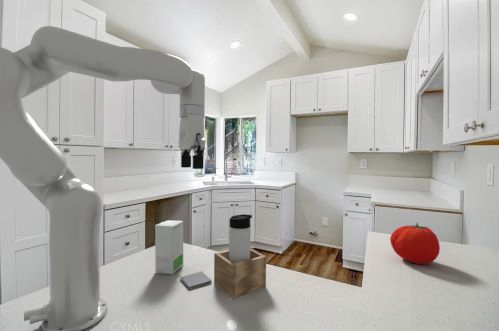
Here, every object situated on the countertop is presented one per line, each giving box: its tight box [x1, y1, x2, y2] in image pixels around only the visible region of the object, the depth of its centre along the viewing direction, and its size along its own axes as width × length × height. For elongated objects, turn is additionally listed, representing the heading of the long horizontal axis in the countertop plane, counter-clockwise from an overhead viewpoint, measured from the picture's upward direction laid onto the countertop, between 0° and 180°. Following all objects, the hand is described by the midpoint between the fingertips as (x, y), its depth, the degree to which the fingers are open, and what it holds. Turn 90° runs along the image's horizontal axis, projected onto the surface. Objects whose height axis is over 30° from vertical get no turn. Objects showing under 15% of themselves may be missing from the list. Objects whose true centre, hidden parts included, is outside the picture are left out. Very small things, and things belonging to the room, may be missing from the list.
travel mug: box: [228, 214, 253, 263], centre depth 75 cm, size 6×7×20 cm
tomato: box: [389, 222, 441, 265], centre depth 94 cm, size 16×14×14 cm
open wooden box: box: [213, 247, 267, 299], centre depth 75 cm, size 12×10×9 cm
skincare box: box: [154, 219, 184, 275], centre depth 85 cm, size 8×7×16 cm
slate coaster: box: [180, 271, 212, 290], centre depth 77 cm, size 7×7×1 cm
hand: (191, 168), depth 79 cm, fingers open, 9 cm apart
